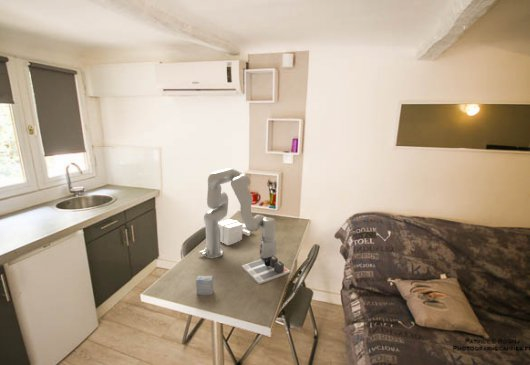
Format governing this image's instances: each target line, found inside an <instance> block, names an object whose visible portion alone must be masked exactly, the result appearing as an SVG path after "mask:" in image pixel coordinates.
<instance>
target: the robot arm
mask: <svg viewBox="0 0 530 365" xmlns="http://www.w3.org/2000/svg"><path fill="white" fill-rule="evenodd" d="M229 182H230V186H231V189H232V190H233V192H234V195H235V196H236V198H237V200H238V203H239V204H240V207H239V208H240V209H239V210H240V217H241V220H242V222H243V224H245V226H246V227H247V229H248V230H247V231H249V232H250V233H251V232H257V231H258V230H259V229H261V228H262V229H261V232H262V233H261V237H260V243H259V244H260V245H259V251H258V252H259V260H261V259H264V260H265V265H266V266H267V267H268V266H270V260H271V258H272V257H273V256H276V255H277V251H278V250H277V249H278V248H277V241H276V240H277V239H276V238H275V237H276V236H275V235H276V219H274V217H268V216H265V215H263V214H255V216H253V213H252V204H253V201H254V197H253V195H252V193H251V191H250V189H249V186H251V179H250V177H249V176H248V175H247V174H245V173H243V172H240V171H238V170H236V169H234V168H230V167H228V168H225V169H224V168H223V169H220V170H216V171H213V172H211V173H210V174H209V176H208V177H207V195H206V196H207V197H206V203H207V204H206V205H207V207H208V208H209V210H208V211H206V212H205V214H204V216H203V221H204V226H205V247H204V249H203V250H200V251H199V252H198V253H199V255H202V256H204V257H205V258H206V259H219V258H220V257H222V255H223V254H224V251H223V250H222V249H221V242H220V227H219V224H218V222H221V221H224V219H225V218H226V217H227V216H228V212H229V211H228V209H229V196H228V194H227V193H226V192H225V191H223V190H222V184H227V183H229Z"/></svg>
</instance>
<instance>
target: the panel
mask: <svg viewBox="0 0 530 365" xmlns="http://www.w3.org/2000/svg"><path fill="white" fill-rule="evenodd" d="M241 268H242V269H243V270H244V271H245V272H246V273H247V274H248V275H249V276H250V277H251V278H252V279H253V280H254V281H255V282H256V283H257V284H258V285H261V284H263V283H266V282H269V281H273V280H274V279H277V278H279V277H282V276H284V275H288V274H290V272H291V271H290V269H288V268H286V267H285V263H283V262H281V261H279V260H278V262H276V263H275V265H274V267H273V268H272V267H271V266H268V267H267V266H266V265H265V260H264V259H258V260H255V261H252V262H248V263H246V264H242V265H241Z"/></svg>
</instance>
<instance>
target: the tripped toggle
mask: <svg viewBox="0 0 530 365" xmlns="http://www.w3.org/2000/svg"><path fill="white" fill-rule="evenodd" d="M276 262H279V259H278V257H277V256H276V255H274V256H273V257H272V258H271V260H270V266H271V267H272V268H273V267H274V265H275V263H276Z"/></svg>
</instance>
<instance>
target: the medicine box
mask: <svg viewBox="0 0 530 365" xmlns="http://www.w3.org/2000/svg"><path fill="white" fill-rule="evenodd" d="M195 283H196V284H195V287H196V295H197V296H211V295H213V291H214V276H213V275H198V276H197V278H196V280H195Z"/></svg>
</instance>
